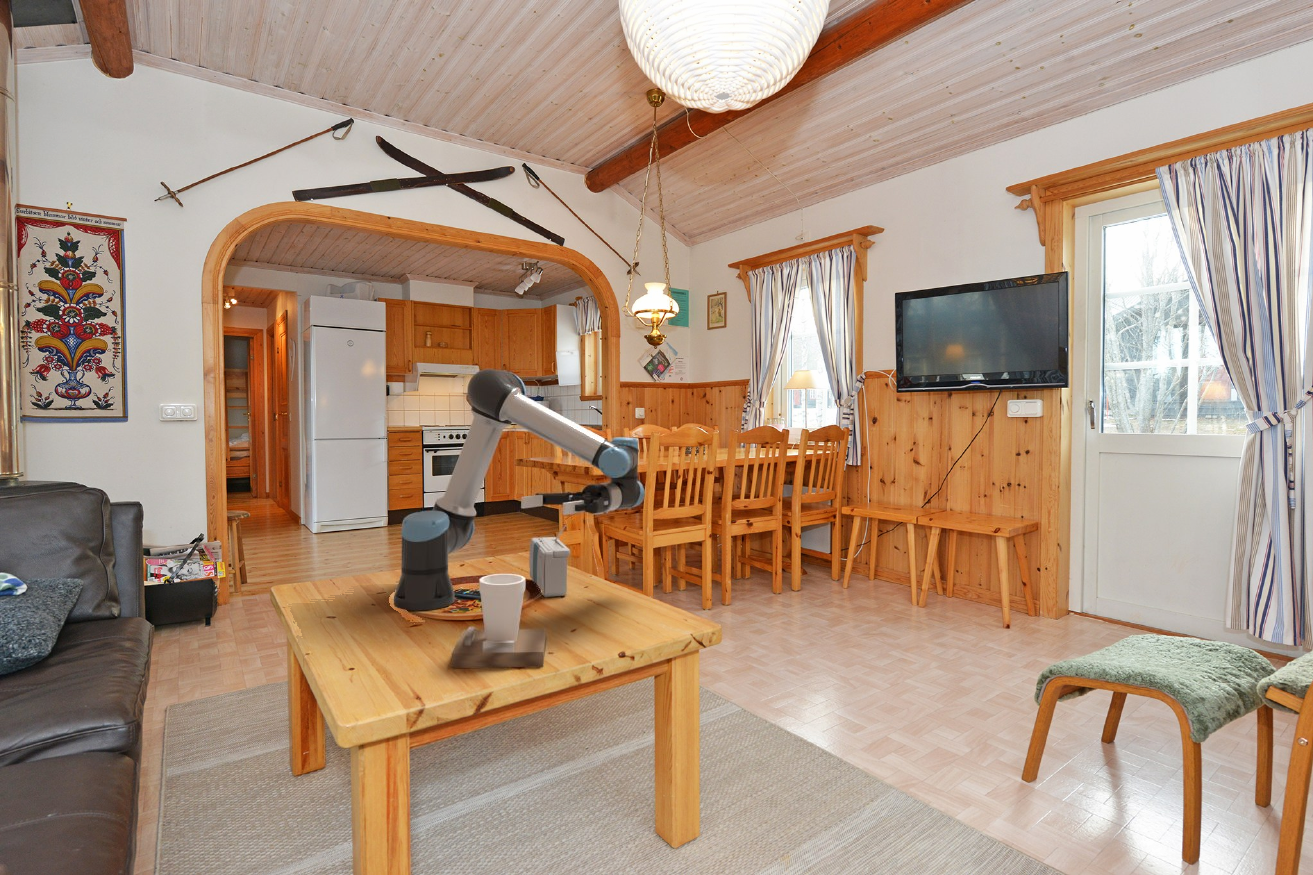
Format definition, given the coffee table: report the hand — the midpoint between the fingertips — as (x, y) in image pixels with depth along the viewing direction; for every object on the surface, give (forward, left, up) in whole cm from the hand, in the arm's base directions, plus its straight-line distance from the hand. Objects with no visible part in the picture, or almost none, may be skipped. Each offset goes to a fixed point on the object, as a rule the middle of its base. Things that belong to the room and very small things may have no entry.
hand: (542, 505), depth 161 cm
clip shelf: (-7, -18, -29) cm, 35 cm away
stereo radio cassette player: (+1, +35, -29) cm, 46 cm away
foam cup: (-7, -17, -26) cm, 32 cm away
